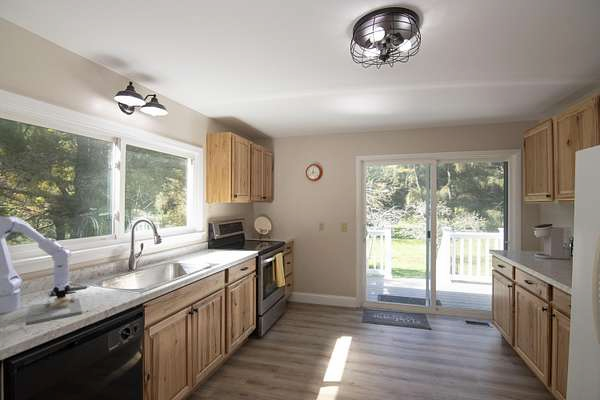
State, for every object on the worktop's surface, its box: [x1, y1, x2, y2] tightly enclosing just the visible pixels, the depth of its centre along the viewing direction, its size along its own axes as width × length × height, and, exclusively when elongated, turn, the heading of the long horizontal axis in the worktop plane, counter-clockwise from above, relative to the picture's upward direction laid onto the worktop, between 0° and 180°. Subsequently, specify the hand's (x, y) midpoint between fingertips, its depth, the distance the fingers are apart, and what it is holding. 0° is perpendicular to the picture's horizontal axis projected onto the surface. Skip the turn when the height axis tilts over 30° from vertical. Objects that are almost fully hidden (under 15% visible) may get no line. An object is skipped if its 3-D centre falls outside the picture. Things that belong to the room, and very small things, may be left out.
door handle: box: [49, 285, 88, 298], centre depth 155 cm, size 3×20×16 cm
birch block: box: [53, 296, 69, 309], centre depth 131 cm, size 5×5×4 cm
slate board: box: [25, 296, 83, 327], centre depth 127 cm, size 18×23×3 cm
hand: (61, 302), depth 133 cm, fingers closed
